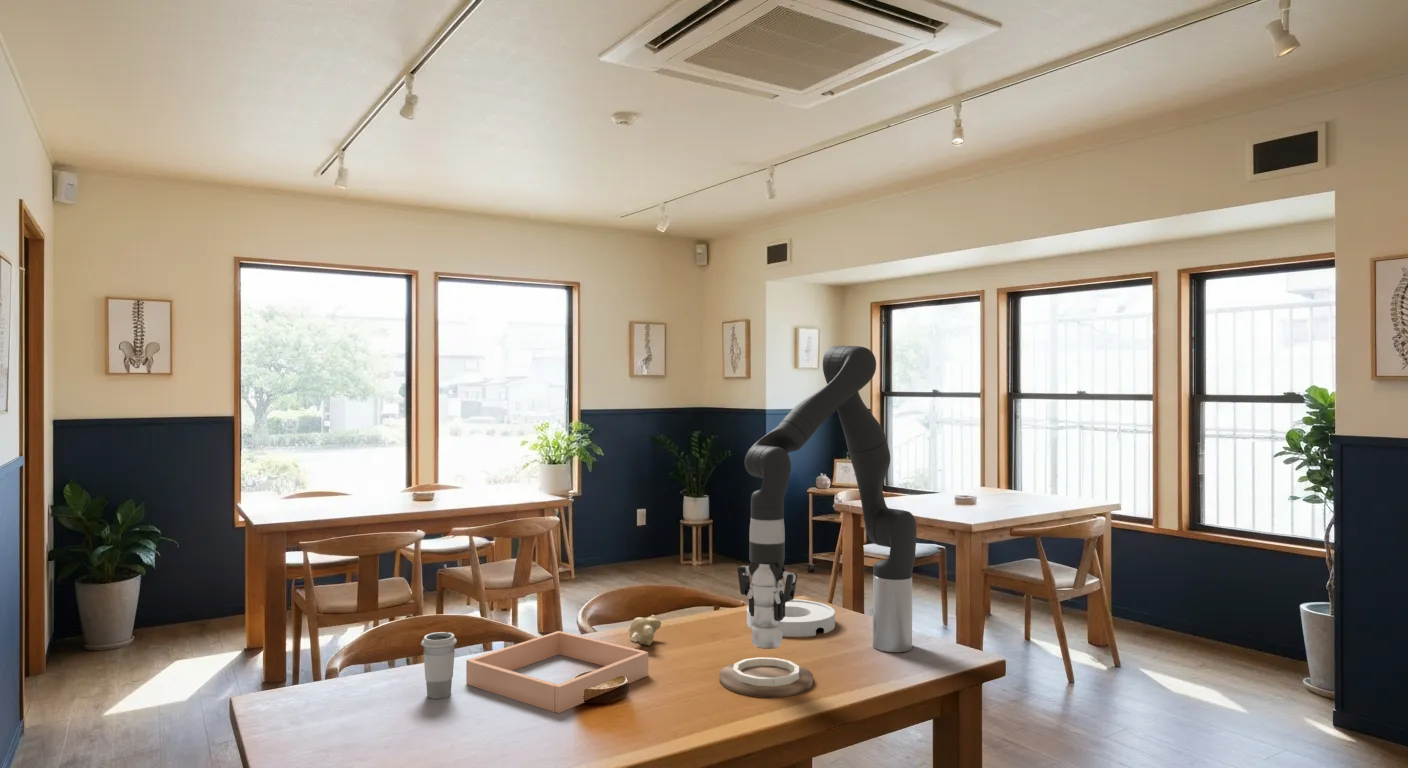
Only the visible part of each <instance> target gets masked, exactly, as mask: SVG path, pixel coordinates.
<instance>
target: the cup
mask: <svg viewBox="0 0 1408 768" xmlns="http://www.w3.org/2000/svg"><path fill="white" fill-rule="evenodd" d="M457 642H458V640H457V638H455V634H454V633H453V632H449V631H447V632H445V631H439V632H438V631H437V632H430V633H428V634H426V635H424V637H423V639H422V640H421V642H420V645H421V646H422V647H423V663H424V664H423V665H424V678H425V679H424V680H425V682H426V696H427V698H429V699H434V700H437V699H438V700H439V699H440V700H441V699H445V698H447V697H450V696H451V694H452V686H453V685H452V684H453V683H452V682H453V678H454V663H455V654H456V653H455V650H456V649H455V645H456V644H457Z"/></svg>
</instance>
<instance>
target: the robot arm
mask: <svg viewBox="0 0 1408 768" xmlns="http://www.w3.org/2000/svg"><path fill="white" fill-rule="evenodd" d="M876 369H877V359H876V356H875V354H874V353H873V351H872V350H870V348H867V347H864V346H860V345H859V346H858V345H833V346H831V347H829V348H828V349H827V350H826V351H825V352H824V355H823V359H822V371H823V375H824V379H825V381H826V385H824V386H823V387H822V388H821V389H819V390H818V391H816V392H814V393H812V394H811V395H810V396H808V397H806V398H804V399H803V400H802V401H800V402H799V403H798V404H796V405H795V406H794V407H793V408H792V409H791V410H790V411H789V412H788V413H787V414H786V416H785V417H784V418H783V419H782V420H781V421H780V422H779V424H778V425H777V426H775V428H774V429H772V430H770V431H769V432H768V433H766V434H765V435H764V436H763V437H761V438H760V439H759V440H757V441H756V442H755V443H754V444H752V445H751V447H750V448H749V449H748V451H747V453H746V455H745V457H744V468H745V471H746V472H747V473H748V474H749V475H750V476H752V477H755V478H758V479H759V478H760V479H762V482H761V488H760V489H758V490H755V491H753V492H752V494H751V499H750V523H749V535H748V536H749V547H748V548H749V552H748V553H749V561H750V564H749V565H741V566H739V567H737V576H738V583H739V590H740V594H741V595H742V596H744V595H745V596H746V597H747V598H748V606H749V613H750V615H751V616H753V617H754V597H753V590H752V583H751V579H750V575H751V576H752V575H753V573H754V572H756V571H755V570H756V569H757V568H758V567H759V564H770V565H769V567H770V569H771V571H772V572H773V574H774V576H775V578H776V580H777V581H779V580H780V579H781V580H782V581H784V583H785V584H784V583H783V582H782V585H781V587H780V588H776V587H775V586H774V587H773V593H774V594H775V596H774V598H775V600H776V604H775V620H776V621H781V620H783V618H784V617H785V603H786V602H788V601H790V600H793V599H795V594H796V593H795V592H796V586H797V582H798V580H797V579H798V573H797V572H790V571H789V572H788V571H786V568H785V565H784V563H785V558H786V557H785V556H786V555H785V554H786V553H785V547H786V545H785V543H786V541H785V539H786V536H785V535H786V534H785V533H786V532H785V531H786V530H785V521H784V520H785V519H784V518H785V517H784V516H785V515H784V512H785V510H784V509H785V508H784V499H785V495H786V492H787V488H788V486H789V485H788V484H789V479H790V476H791V473H792V472H791V471H792V462H791V459H790V456H789V453H794V452H796V451H797V452H798V451H799V450H800V449H801V448H802V447H803V446H804V445H806V443H807V442H808V440H810V438H811V437H812V436H813V435H814V433H816V431H817V430H818V429H819V428H820V426H822V424H824V422H826V420H827V419H828V418H829V417H830V416H831V415H832V414H834V413H835V412H837V415H838V418H839V421H840V424H841V428H842V430H843V434H844V437H845V442H846V447H847V450H848V454H849V458H850V461H851V465H852V468H853V472H854V474H855V479H856V483H857V489H858V492H859V496H860V502H861V508H862V509H861V510H862V514H863V522H864V526H865V531H866V534H867V536H868V539H869V540H870V541H871V543H872V544H874V545H877V546H881V547H886V548H889V556H888V558H886V559H882V560H878V561H876V562H874V563H873V568H872V571H873V572H872V573H873V574H872V587H873V588H872V595H873V596H872V647H873V648H875V649H876V650H879V651H882V652H886V653H905V652H909V651H911V650H912V649H913V569H914V567H915V562H916V547H917V534H918V533H917V531H918V530H917V522H916V518H915V516H914V515H913V513H911V512H910V511H908V510H904V509H903V510H902V509H897V508H889V507H888V506H887V504H886V501H885V497H884V493H883V492H884V491H883V486H884V482H885V479H886V477H887V474H888V471H889V468H890V464H891V453H890V449H889V444H888V440H887V436H886V433H885V431H884V428H882V426H881V424H880V423H879V421H878V420H877V419H876V417H875V416H874V414H872V412H871V411H870V409H869V408H868V406H866V404H865V402H864V401H863V400H862V397H861V395H860V393H859V392H860V390H862V389H863V388H864V387H865V386H866V385H868V383H870V382H871V380H872V379H873V378H874V376H875V373H876V371H877V370H876ZM768 574H769V573H768ZM769 575H770V574H769ZM783 578H784V580H783ZM784 585H785V586H784ZM779 591H780V594H779Z"/></svg>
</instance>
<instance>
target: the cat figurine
mask: <svg viewBox="0 0 1408 768" xmlns="http://www.w3.org/2000/svg"><path fill="white" fill-rule="evenodd" d="M661 625H662V622H661V620H660V619H659V618H658V617H657V616H656V615H655V614H651V615H650V616H648V617H641V616H638V617H635V618H634V619H633V620H632V621H631V624H630V626H629V627H630V628H629V629H628V633H629V638H630V639H631V641H632V642H634V643H637V642H638V643H639V644H641V645H646V646H651V644H653V641H654V636H655V633H656V632H657V630H658V629H660V628H661Z"/></svg>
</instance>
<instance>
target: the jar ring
mask: <svg viewBox="0 0 1408 768" xmlns="http://www.w3.org/2000/svg"><path fill="white" fill-rule="evenodd" d="M733 664H734V663H733ZM798 665H799V664H796V663H795V662H793V661H791V660H788V659H782V658H777V657H762V656H761V657H759V656H758V657H751V658H743V659H741V660H739V661H737V662H735V664H734V667H733V677H734V678H736V679H737V680H739V681H740V682H743V683H747V684H751V685H755V686H780V685H786V684H791V683H793V682H794V681H796V680H798V679H799V666H798ZM753 666H776V667H781V668H785V669H788V670H790V671H791V672H792V673H790V674H788V675H786V676H779V677H756V676H752V675H747V674H744V673H743V672H741V671H740V670H742V669H744V668H747V667H753Z"/></svg>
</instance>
